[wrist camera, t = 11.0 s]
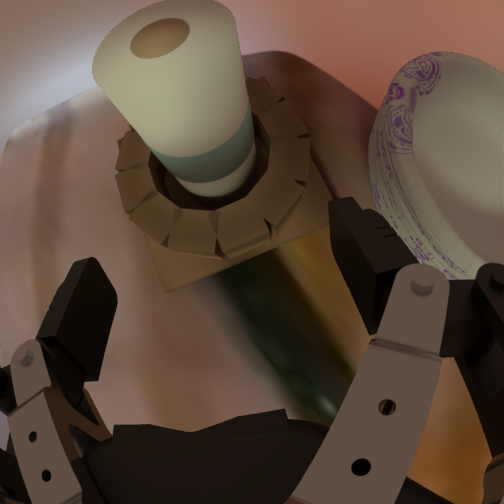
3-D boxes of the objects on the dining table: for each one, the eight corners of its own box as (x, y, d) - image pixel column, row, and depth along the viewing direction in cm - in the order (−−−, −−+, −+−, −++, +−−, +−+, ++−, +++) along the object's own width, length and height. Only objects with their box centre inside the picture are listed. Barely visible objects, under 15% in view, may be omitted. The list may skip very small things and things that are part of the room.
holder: (264, 84, 22) (261, 50, 18) (338, 220, 20) (352, 202, 16) (122, 146, 22) (98, 122, 18) (169, 292, 20) (145, 291, 16)
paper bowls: (353, 90, 21) (376, 19, 13) (502, 134, 20) (549, 93, 12) (345, 288, 19) (388, 283, 11) (513, 303, 18) (582, 301, 10)
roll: (241, 125, 20) (209, -19, 8) (271, 188, 19) (263, 52, 7) (173, 155, 20) (86, 34, 8) (196, 220, 19) (97, 124, 8)
